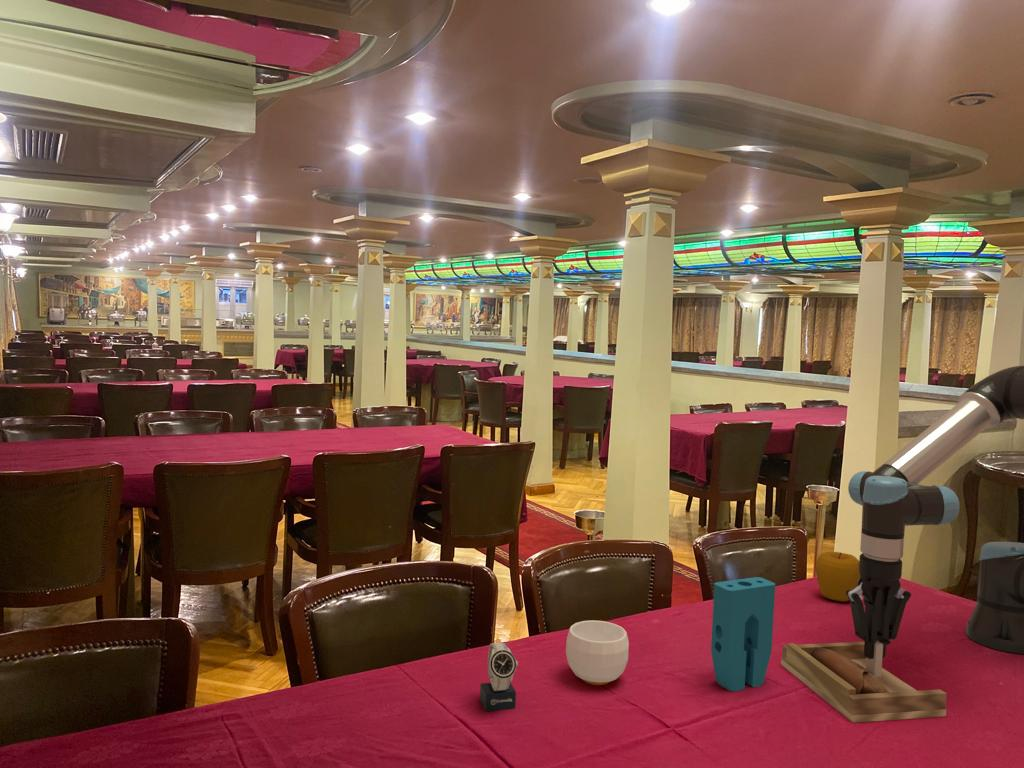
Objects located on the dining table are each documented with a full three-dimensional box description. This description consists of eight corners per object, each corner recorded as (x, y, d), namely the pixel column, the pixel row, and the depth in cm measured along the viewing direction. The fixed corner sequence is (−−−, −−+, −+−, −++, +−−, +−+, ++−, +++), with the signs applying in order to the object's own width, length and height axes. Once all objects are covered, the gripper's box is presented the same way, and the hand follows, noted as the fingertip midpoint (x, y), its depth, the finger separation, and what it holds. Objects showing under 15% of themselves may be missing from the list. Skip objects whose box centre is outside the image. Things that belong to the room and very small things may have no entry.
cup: (639, 679, 148) (642, 631, 148) (602, 700, 139) (605, 649, 139) (589, 659, 157) (591, 614, 156) (552, 678, 148) (553, 630, 147)
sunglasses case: (902, 701, 139) (886, 671, 138) (870, 721, 138) (855, 691, 138) (846, 660, 157) (833, 633, 156) (818, 677, 156) (804, 651, 155)
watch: (488, 716, 132) (490, 655, 131) (477, 695, 139) (479, 637, 139) (518, 713, 133) (521, 653, 133) (506, 692, 141) (508, 635, 140)
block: (754, 672, 153) (759, 576, 152) (772, 683, 149) (777, 584, 147) (707, 682, 148) (712, 583, 147) (724, 693, 144) (729, 591, 142)
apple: (819, 604, 195) (822, 556, 194) (810, 591, 206) (812, 544, 205) (864, 608, 193) (867, 559, 193) (852, 594, 204) (855, 548, 203)
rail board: (862, 660, 161) (863, 636, 161) (945, 716, 137) (947, 688, 137) (781, 664, 158) (782, 640, 157) (852, 722, 134) (854, 694, 134)
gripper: (897, 550, 151) (889, 664, 153) (839, 551, 149) (832, 667, 150) (924, 561, 144) (915, 680, 145) (863, 562, 142) (855, 684, 143)
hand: (873, 673), depth 148 cm, fingers closed
